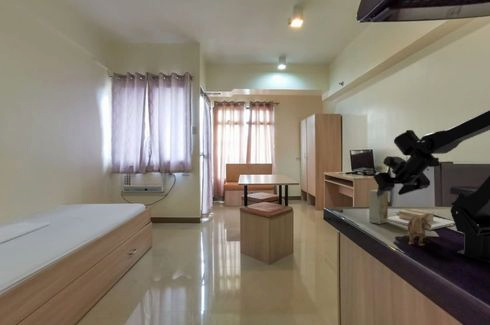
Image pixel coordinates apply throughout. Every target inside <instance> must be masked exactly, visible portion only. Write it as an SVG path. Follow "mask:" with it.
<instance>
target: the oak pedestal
mask: <svg viewBox="0 0 490 325" xmlns="http://www.w3.org/2000/svg"><path fill="white" fill-rule="evenodd" d="M418 215H420V216H423V217H425V221H427V222H429V221H433V217H434V212H431V211H425V210H420V209H416V208H409V209H402V210H399V211H398V216H399V218H400V219H404V220H408V221H410V220H411V219H412V218H413V217H415V216H418Z"/></svg>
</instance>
